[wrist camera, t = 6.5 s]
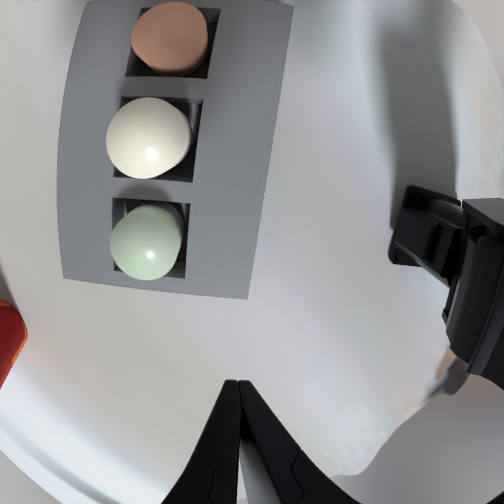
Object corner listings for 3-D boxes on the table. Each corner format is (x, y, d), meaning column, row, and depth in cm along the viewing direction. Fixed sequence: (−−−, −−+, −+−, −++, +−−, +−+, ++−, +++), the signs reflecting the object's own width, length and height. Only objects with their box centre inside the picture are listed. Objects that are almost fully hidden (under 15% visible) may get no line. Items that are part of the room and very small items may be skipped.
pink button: (213, 25, 14) (212, 2, 11) (203, 79, 15) (198, 65, 12) (153, 23, 13) (140, 3, 10) (141, 76, 15) (124, 64, 11)
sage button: (187, 202, 18) (179, 216, 15) (182, 259, 20) (176, 283, 16) (128, 197, 17) (109, 210, 14) (127, 253, 19) (111, 276, 16)
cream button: (196, 107, 15) (190, 99, 12) (188, 173, 16) (180, 181, 13) (131, 104, 14) (111, 97, 11) (124, 168, 16) (103, 176, 13)
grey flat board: (285, 20, 14) (293, 5, 12) (244, 281, 21) (247, 299, 19) (100, 14, 12) (87, 1, 10) (77, 263, 19) (63, 278, 17)
